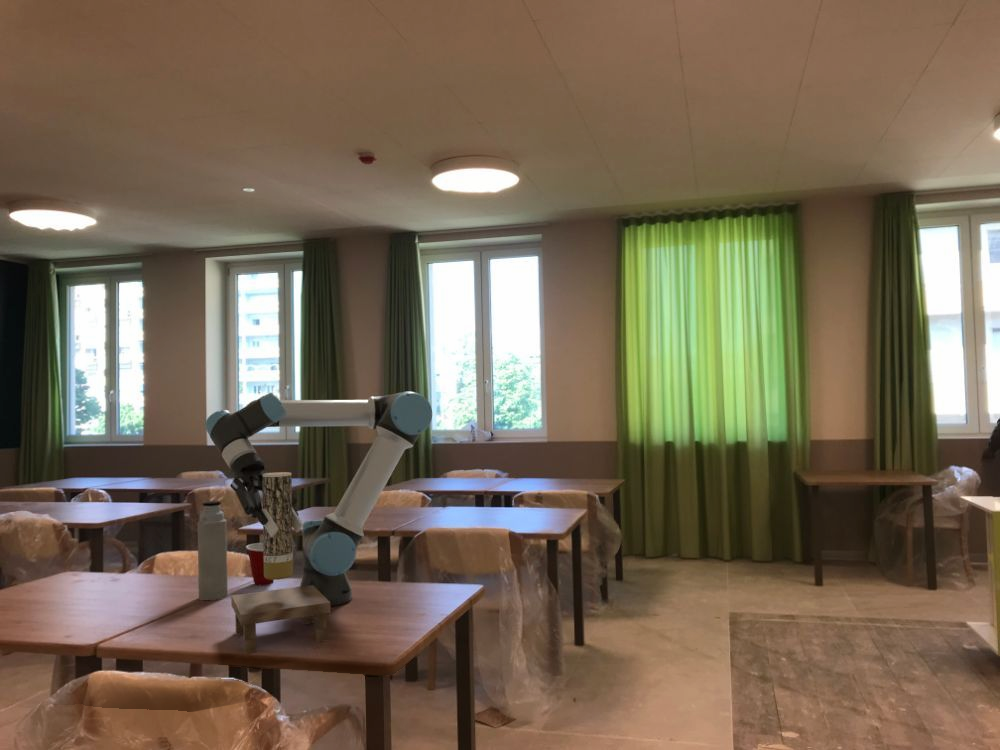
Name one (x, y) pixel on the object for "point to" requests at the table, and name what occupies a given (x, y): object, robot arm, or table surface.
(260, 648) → the table surface
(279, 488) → the paper tube
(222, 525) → the thermos bottle
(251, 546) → the plastic cup
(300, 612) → the stool
